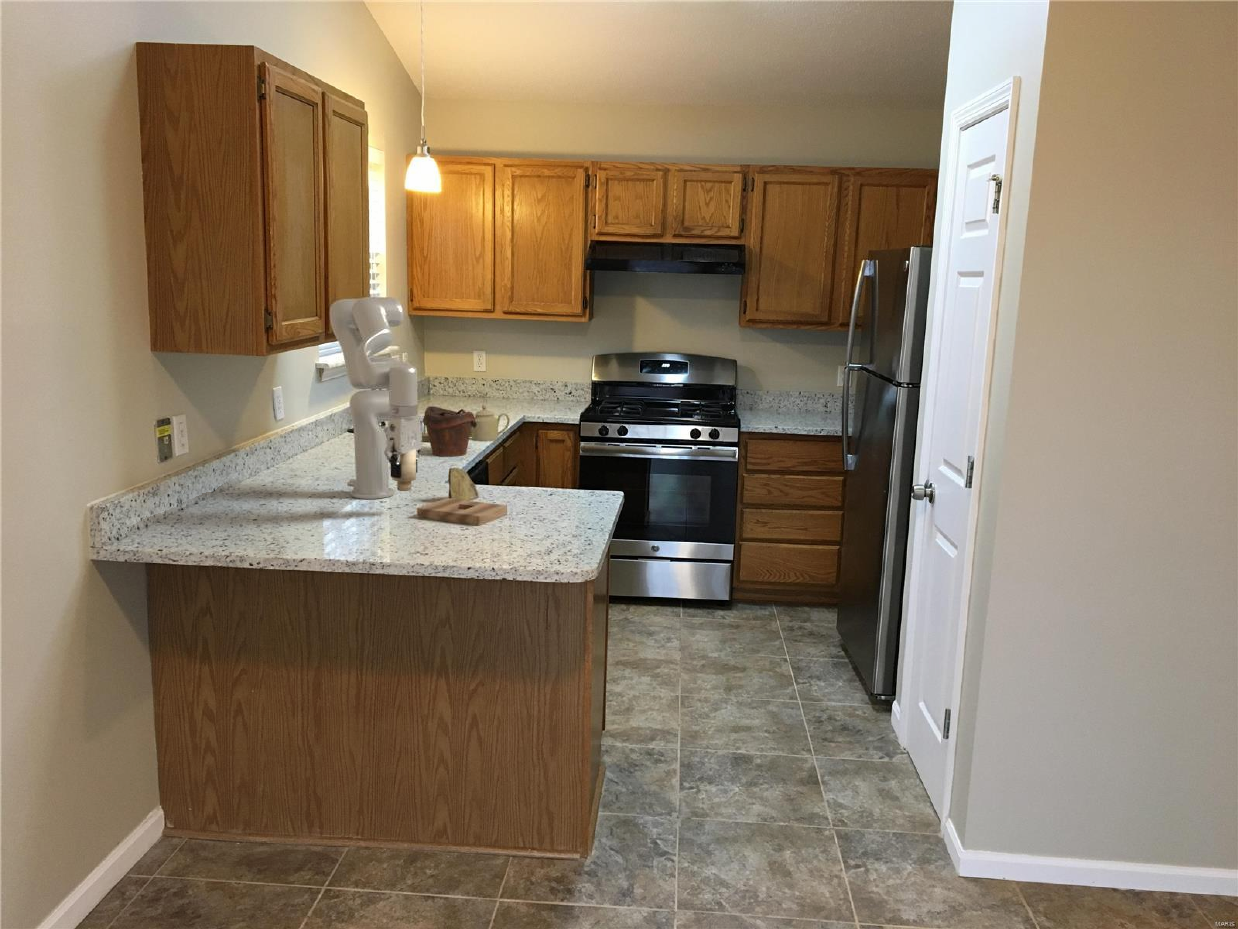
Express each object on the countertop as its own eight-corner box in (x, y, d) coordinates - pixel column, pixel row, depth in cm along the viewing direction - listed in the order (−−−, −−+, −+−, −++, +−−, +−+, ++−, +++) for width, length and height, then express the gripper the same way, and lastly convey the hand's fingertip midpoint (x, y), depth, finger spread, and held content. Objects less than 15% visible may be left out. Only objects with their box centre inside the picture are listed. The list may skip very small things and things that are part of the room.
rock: (476, 487, 284) (444, 484, 281) (483, 468, 279) (449, 465, 275) (479, 514, 277) (446, 512, 274) (486, 495, 271) (452, 492, 268)
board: (417, 517, 255) (417, 508, 254) (447, 507, 267) (446, 498, 267) (479, 525, 247) (479, 516, 246) (507, 514, 259) (507, 505, 259)
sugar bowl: (497, 435, 401) (497, 401, 398) (511, 439, 392) (510, 403, 390) (466, 438, 392) (466, 403, 390) (479, 442, 384) (479, 405, 381)
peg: (387, 490, 257) (387, 449, 255) (402, 485, 263) (401, 445, 260) (406, 493, 255) (406, 452, 252) (420, 488, 260) (420, 448, 258)
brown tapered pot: (479, 456, 349) (478, 408, 346) (425, 459, 344) (423, 410, 341) (474, 449, 366) (473, 404, 363) (422, 451, 361) (420, 405, 358)
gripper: (394, 416, 245) (395, 483, 249) (433, 408, 260) (434, 470, 264) (371, 413, 248) (372, 479, 252) (411, 405, 263) (412, 467, 267)
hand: (404, 474), depth 258 cm, fingers closed on peg, 6 cm apart
